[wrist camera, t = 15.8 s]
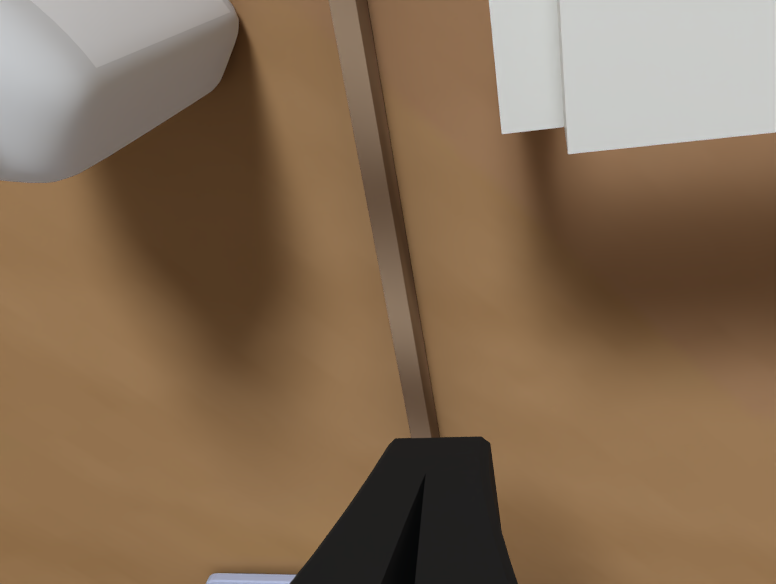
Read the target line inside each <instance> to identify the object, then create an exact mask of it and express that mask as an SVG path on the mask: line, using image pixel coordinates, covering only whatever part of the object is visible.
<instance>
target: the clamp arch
mask: <svg viewBox="0 0 776 584" xmlns="http://www.w3.org/2000/svg"><path fill="white" fill-rule="evenodd" d="M489 6H490V16H491V27H492V37H493V48H494V58H495V68H496V79H497V89H498V99H499V110H500V120H501V131H502V134H507V133H516V132H525V131H533V130H542V129H551V128H560V127H564V129H565V136H566V143H567V150H568V154H574V153H584V152H593V151H603V150H612V149H622V148H631V147H640V146H650V145H659V144H669V143H678V142H688V141H697V140H707V139H716V138H726V137H735V136H745V135H754V134H764V133H773V132H776V0H489Z"/></svg>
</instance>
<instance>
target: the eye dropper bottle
mask: <svg viewBox="0 0 776 584" xmlns="http://www.w3.org/2000/svg"><path fill="white" fill-rule="evenodd" d="M238 29H239V18H238V16H237V13H236V11H235V8H234V6H233V5H232V4H231V2H230V1H229V0H0V180H3V181H13V182H27V183H48V182H56V181H59V180H62V179H66V178H69V177H71V176H74V175H77V174H79V173H81V172H83V171H85V170H86V169H88V168H90V167H91V166H93V165H95V164H97V163H98V162H100V161H102V160H104V159H105V158H107V157H109V156H110V155H112V154H114V153H115V152H117V151H118V150H120V149H122V148H123V147H125V146H126V145H128V144H130V143H131V142H133V141H134V140H136V139H138V138H139V137H141V136H142V135H144V134H146V133H147V132H149V131H150V130H152V129H154V128H155V127H157V126H158V125H160V124H161V123H163V122H165V121H166V120H168V119H169V118H171V117H172V116H174V115H175V114H177V113H179V112H180V111H182V110H183V109H185V108H186V107H188V106H190V105H191V104H193V103H194V102H196V101H197V100H199V99H200V98H202V97H204V96H205V95H207V94H208V93H210V92H211V91H212V90H214V88H215V87H216V86H217V85H218V84H219V82H220V81H221V78H222V76H223V74H224V71H225V69H226V66H227V63H228V61H229V58H230V55H231V53H232V50H233V47H234V44H235V41H236V38H237V35H238Z"/></svg>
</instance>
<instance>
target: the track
mask: <svg viewBox="0 0 776 584" xmlns="http://www.w3.org/2000/svg"><path fill="white" fill-rule="evenodd" d="M329 5H330V10H331V16H332V21H333V26H334V31H335V37H336V42H337V47H338V53H339V58H340V63H341V68H342V74H343V79H344V84H345V90H346V95H347V100H348V105H349V111H350V116H351V121H352V127H353V132H354V137H355V142H356V148H357V153H358V158H359V164H360V169H361V174H362V179H363V185H364V190H365V195H366V201H367V206H368V211H369V216H370V222H371V227H372V232H373V238H374V243H375V248H376V253H377V259H378V264H379V269H380V275H381V280H382V285H383V290H384V296H385V301H386V306H387V312H388V317H389V322H390V327H391V333H392V338H393V343H394V349H395V354H396V359H397V364H398V370H399V375H400V380H401V386H402V391H403V396H404V401H405V407H406V412H407V417H408V423H409V428H410V433H411V438H440V435H439V429H438V423H437V417H436V411H435V405H434V399H433V393H432V387H431V381H430V375H429V369H428V363H427V357H426V351H425V345H424V339H423V333H422V327H421V321H420V316H419V310H418V304H417V298H416V292H415V286H414V280H413V274H412V268H411V262H410V256H409V250H408V244H407V238H406V232H405V226H404V220H403V214H402V208H401V202H400V196H399V190H398V184H397V178H396V172H395V166H394V160H393V154H392V148H391V142H390V136H389V130H388V124H387V118H386V112H385V106H384V100H383V94H382V88H381V82H380V76H379V70H378V64H377V58H376V52H375V46H374V40H373V34H372V28H371V22H370V16H369V10H368V4H367V0H329Z"/></svg>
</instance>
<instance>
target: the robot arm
mask: <svg viewBox="0 0 776 584" xmlns="http://www.w3.org/2000/svg"><path fill="white" fill-rule="evenodd" d="M206 584H518V583H517V580H516V577H515V574H514V571H513V568H512V565H511V562H510V559H509V555H508V552H507V548H506V545H505V542H504V538H503V535H502V531H501V523H500V516H499V508H498V500H497V492H496V485H495V477H494V469H493V461H492V453H491V446H490V443H489V442H488V441H486V440H485V439H484V438H483V437H442V438H398V439H394V440H393V441H392V442H391V443H390V444H389V445H388V447H387V449H386V450H385V452H384V453H383V455H382V456H381V458H380V460H379V461H378V463H377V464H376V466H375V467H374V469H373V470H372V472H371V474H370V475H369V477H368V478H367V480H366V481H365V483H364V484H363V486H362V487H361V489H360V490H359V491H358V493H357V494H356V496H355V497H354V499H353V500H352V502H351V503H350V505H349V506H348V507H347V509H346V510H345V512H344V513H343V514H342V516H341V517H340V519H339V520H338V521H337V523H336V524H335V525H334V527H333V528H332V529H331V531H330V532H329V534H328V535H327V536H326V538H325V539H324V540H323V542H322V543H321V545H320V546H319V547H318V549H317V550H316V551H315V552H314V554H313V555H312V556H311V558H310V559H309V560H308V561H307V563H306V564H305V565H304V566H303V568H302V569H301V570H300V571H299V572H298V574H297V575H288V574H238V573H215V574H212V575H210V576H209V578H208V580H207V582H206Z"/></svg>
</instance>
